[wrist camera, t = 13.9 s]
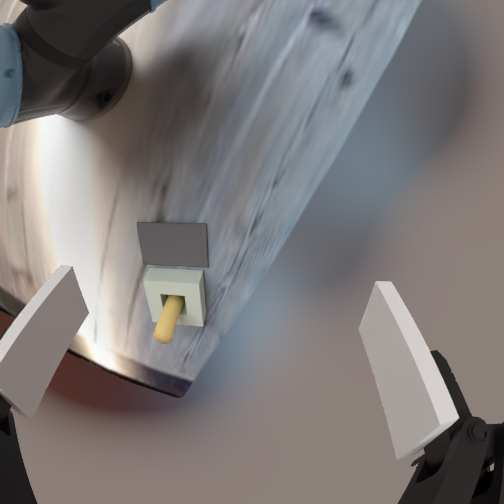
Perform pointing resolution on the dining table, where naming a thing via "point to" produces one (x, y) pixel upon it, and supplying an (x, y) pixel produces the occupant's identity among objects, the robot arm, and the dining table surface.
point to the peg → (168, 319)
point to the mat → (173, 243)
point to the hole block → (177, 293)
